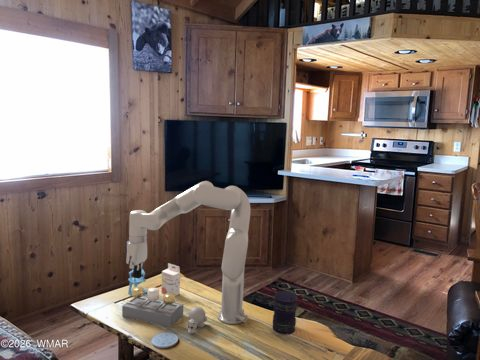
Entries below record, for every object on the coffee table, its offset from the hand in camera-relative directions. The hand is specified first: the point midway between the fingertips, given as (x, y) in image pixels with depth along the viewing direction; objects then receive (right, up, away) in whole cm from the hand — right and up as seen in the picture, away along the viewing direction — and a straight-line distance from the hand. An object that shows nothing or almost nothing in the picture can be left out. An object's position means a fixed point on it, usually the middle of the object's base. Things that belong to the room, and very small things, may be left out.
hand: (137, 277), depth 169 cm
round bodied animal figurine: (+27, -20, -9) cm, 35 cm away
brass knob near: (+15, -10, -4) cm, 18 cm away
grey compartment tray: (+7, -17, 0) cm, 19 cm away
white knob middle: (+8, -9, -1) cm, 12 cm away
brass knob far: (0, -8, +1) cm, 8 cm away
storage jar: (+65, -21, -7) cm, 69 cm away
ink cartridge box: (+11, -14, +22) cm, 29 cm away
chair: (-6, -14, +22) cm, 26 cm away
